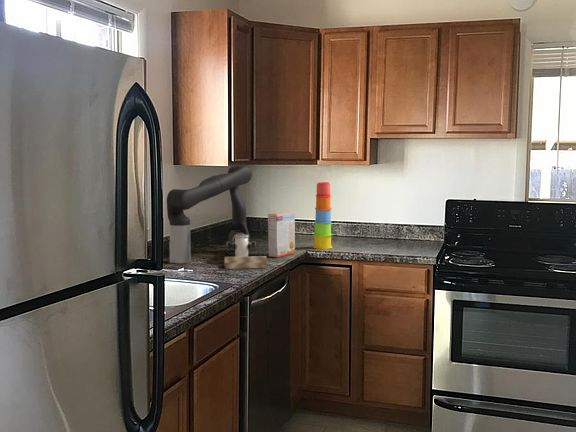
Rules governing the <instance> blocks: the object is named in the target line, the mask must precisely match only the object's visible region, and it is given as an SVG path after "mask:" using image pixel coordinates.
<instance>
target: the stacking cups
mask: <svg viewBox="0 0 576 432" xmlns="http://www.w3.org/2000/svg"><path fill="white" fill-rule="evenodd" d="M331 197H332V195H331V184H330V182H329V181H328V182H325V181H323V182H321V181H320V182H317V184H316V194H315V207H314V209H315V220H314V233H313V235H314V241H313V246H312V248H313V249H316V250H317V249H318V250H330V248H331V249H333V246H332V236H333V233H332V222H333V221H332V218H331V216H332V213H331V212H332V207H331Z"/></svg>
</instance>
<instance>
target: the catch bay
mask: <svg viewBox="0 0 576 432" xmlns="http://www.w3.org/2000/svg"><path fill="white" fill-rule="evenodd" d="M267 259H268V258H267V255H266V256H265V255H264V256H263V255H258V256H248V257H235V256H224V269H225V270H226V269H227V270H230V269H231V270H232V269H233V270H234V269H240V270H241V269H267V268H268V267H267V265H268V264H267V262H268V261H267Z"/></svg>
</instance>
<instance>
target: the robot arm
mask: <svg viewBox="0 0 576 432" xmlns="http://www.w3.org/2000/svg"><path fill="white" fill-rule="evenodd" d="M252 177H253V172H252V169H251V168H250V167H249V166H246V165H232V166H230V167H229V168H228V170H227V173H223V174H217V175H213V176H210V177H207V178H204V179H203V180H201V182H199V184H198V186H195V187H193V188H189V189H181V188H180V189H179V188H175V189H174V188H173V189H171V190H170V191H168V193H167V196H166V212H167V219H168V223H169V245H168V246H169V263H170V264H188V263H191V262H192V261H191V260H192V259H191V258H192V256H191V219H190V217H188V216H187V215H186V214H185V213H184V211H185V210H189V209H191V208H193V207H195V206H196V205H198V204H200V203H201V202H204V201H207V200H209V199H211V198H214V197H216V196H218V195H221V194H222V193H225V192H227V191H229V194H230V201H231V214H232V216H231V220H232V225H234V226H237V227H241V228H242V229H237V230H236V229H235V230H234V229H232V230H231V231H230V232H229V234H228V240H227V241H226V248H227V249H233V250H235V235H249V237H248V250H251V249H255V248H256V245H257V244H256V241H257V240H252V241H251V242H250V239H251V235H250V233H249V229H248V226H247V209H246V205H245V201H244V200H243V198H242V196H241V193H240V186H242V185H246V184H248V183H249V182H250V181H251V179H252Z"/></svg>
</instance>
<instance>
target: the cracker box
mask: <svg viewBox="0 0 576 432" xmlns="http://www.w3.org/2000/svg"><path fill="white" fill-rule="evenodd" d="M295 218H296V216H295V212H294V211H292V212H291V211H283V212H274V213H268V214H267V234H268V239H267V240H268V241H267V242H268V257H269V258H281V257H286V256H291V255H295V254H296V243H295V242H296V239H295V238H296V235H295V234H296V227H295V225H296V224H295V223H296V222H295V221H296V220H295Z"/></svg>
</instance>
